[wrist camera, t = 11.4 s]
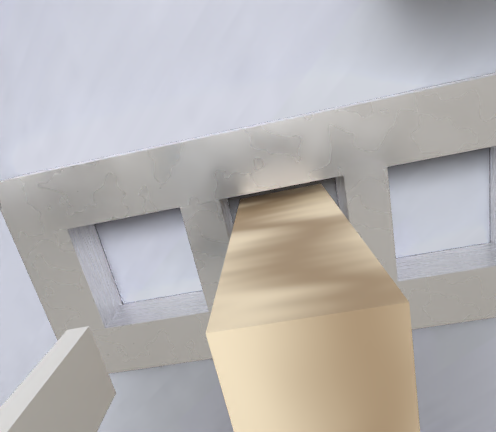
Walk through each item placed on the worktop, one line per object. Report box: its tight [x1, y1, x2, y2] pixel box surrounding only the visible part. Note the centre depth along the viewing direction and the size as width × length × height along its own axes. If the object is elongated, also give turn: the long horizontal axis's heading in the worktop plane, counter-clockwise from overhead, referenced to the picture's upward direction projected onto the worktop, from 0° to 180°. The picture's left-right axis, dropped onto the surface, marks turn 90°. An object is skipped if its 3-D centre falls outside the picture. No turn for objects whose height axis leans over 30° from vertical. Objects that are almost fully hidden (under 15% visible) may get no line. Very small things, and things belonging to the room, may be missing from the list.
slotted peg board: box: [0, 73, 496, 374], centre depth 18 cm, size 28×12×3 cm, turn 102°
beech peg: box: [206, 183, 420, 432], centre depth 14 cm, size 4×4×12 cm
